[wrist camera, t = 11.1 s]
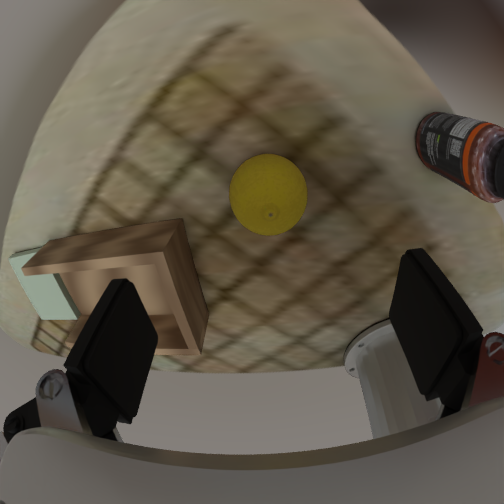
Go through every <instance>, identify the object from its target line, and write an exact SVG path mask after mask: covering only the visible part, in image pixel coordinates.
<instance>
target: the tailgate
mask: <svg viewBox="0 0 504 504" xmlns="http://www.w3.org/2000/svg"><path fill="white" fill-rule="evenodd" d="M41 248H42V247H41ZM41 248H37V249H32V250H28V251H24V252H20V253H16V254H12V255H11V256H10V257H9V258H8V260H9V262H10V264H11V266H12V268H13V270H14V272H15V274H16V276H17V278H18V280H19V281H20V283H21V285H22V287H23V289H24V291H25V292H26V294H27V296H28V298H29V299H30V301H31V303H32V304H33V306H34V308H35V309H36V311H37V313H38V314H39V316H40V317H41V319H42V320H68V319H78V318H79V316H80V314H81V313H80V311H79V310H78V308H77V306H76V304H75V303H74V301H73V299H72V297H71V295H70V293H69V292H68V290H67V288H66V286H65V284H64V282H63V280H62V278H61V276H60V274H59V273H53V274H42V275H31V276H25V275H24V274H23V272H22V270H21V268H22V267H23V266H24V265H25V264H26V263H27V262H28V261H29V260H30V259H31V258H32V257H33V256H34V255H35V254H36V253H37V252H38V251H39V250H40V249H41Z"/></svg>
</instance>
